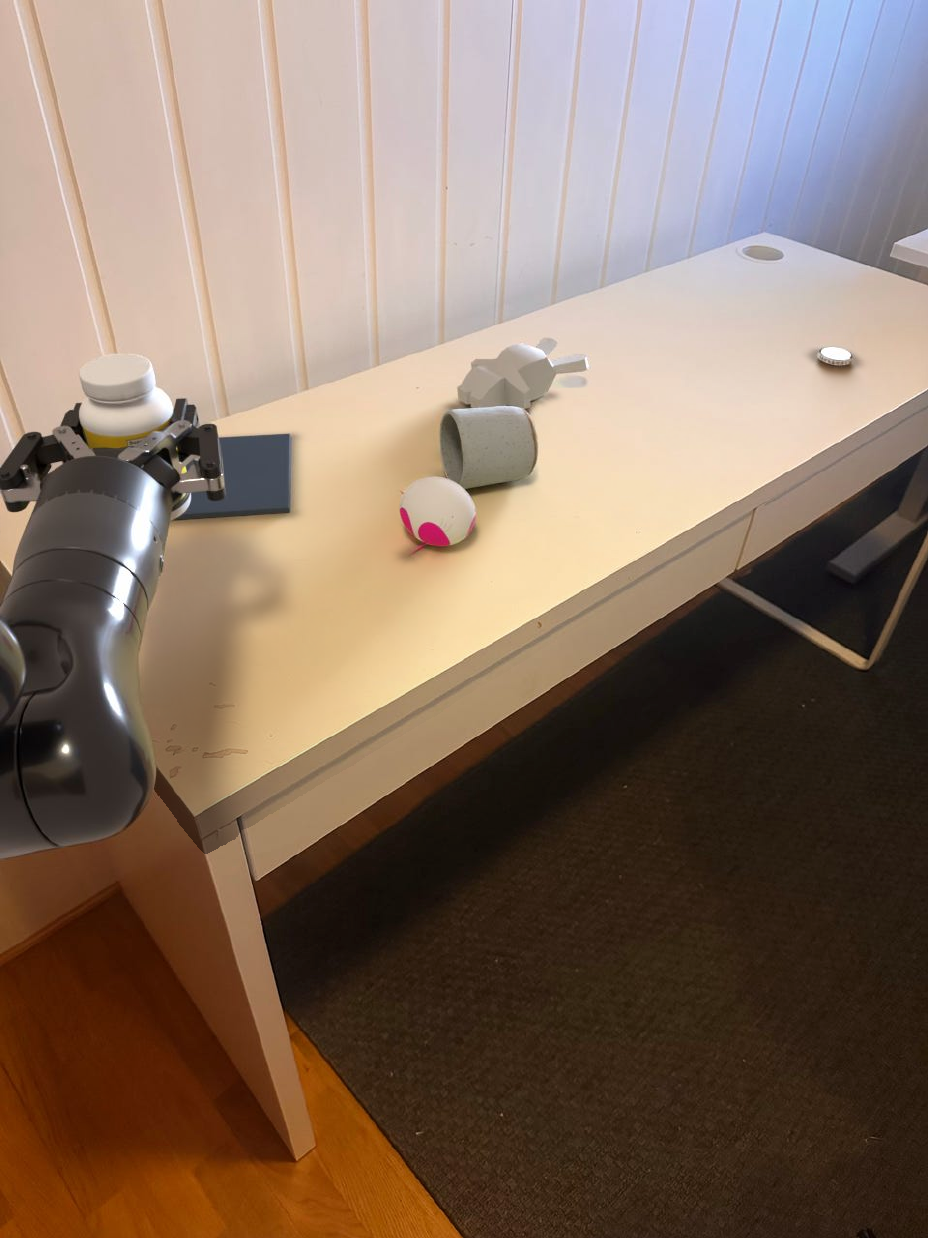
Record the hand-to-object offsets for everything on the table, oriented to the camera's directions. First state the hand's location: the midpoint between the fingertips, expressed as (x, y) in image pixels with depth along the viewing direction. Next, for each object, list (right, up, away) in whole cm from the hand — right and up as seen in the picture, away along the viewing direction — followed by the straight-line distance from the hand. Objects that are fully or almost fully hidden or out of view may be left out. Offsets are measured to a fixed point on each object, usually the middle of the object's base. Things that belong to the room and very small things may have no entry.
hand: (135, 412), depth 64 cm
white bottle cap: (+70, +18, +48) cm, 86 cm away
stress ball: (+21, -8, +18) cm, 28 cm away
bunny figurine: (+30, +11, +39) cm, 51 cm away
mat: (-1, -1, +25) cm, 25 cm away
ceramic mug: (+25, 0, +27) cm, 37 cm away
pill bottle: (0, -7, +3) cm, 7 cm away
